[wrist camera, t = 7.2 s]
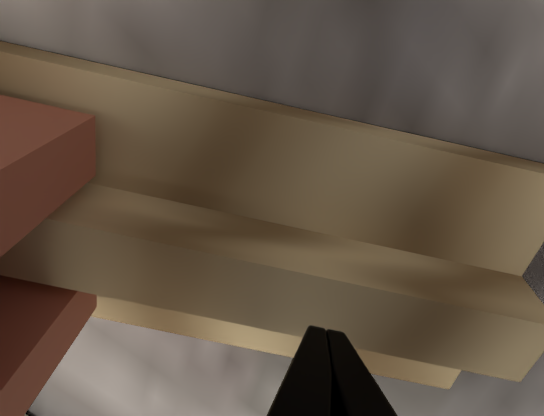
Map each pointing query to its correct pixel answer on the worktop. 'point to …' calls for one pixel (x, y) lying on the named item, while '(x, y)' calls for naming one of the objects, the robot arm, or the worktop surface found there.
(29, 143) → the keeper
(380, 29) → the worktop surface
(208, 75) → the worktop surface
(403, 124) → the worktop surface
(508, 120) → the worktop surface
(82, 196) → the rail
